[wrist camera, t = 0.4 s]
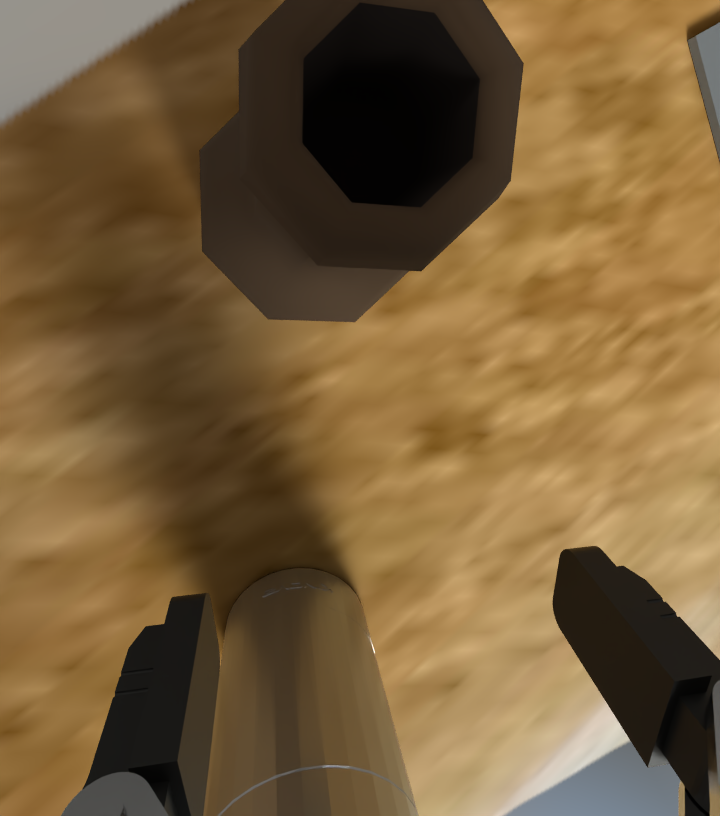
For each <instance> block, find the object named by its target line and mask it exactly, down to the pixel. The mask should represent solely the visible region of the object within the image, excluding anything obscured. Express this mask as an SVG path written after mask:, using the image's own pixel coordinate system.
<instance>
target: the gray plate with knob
mask: <svg viewBox="0 0 720 816" xmlns="http://www.w3.org/2000/svg"><path fill="white" fill-rule="evenodd" d="M688 44H689V48H690V52H691V55H692V59H693V63H694V67H695V70H696V74H697V78H698V81H699V85H700V89H701V93H702V96H703V100H704V104H705V108H706V111H707V115H708V119H709V123H710V126H711V130H712V134H713V138H714V141H715V145H716V149H717V152H718V156H719V160H720V22H719V23H718V24H716V25H714V26H712V27H710V28H709V29H707V30H705V31H703V32H702V33H700V34H698V35H696V36H694V37H693V38H691V39H689V40H688Z"/></svg>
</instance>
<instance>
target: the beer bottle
mask: <svg viewBox="0 0 720 816" xmlns="http://www.w3.org/2000/svg"><path fill="white" fill-rule="evenodd" d="M523 64H524V63H523V62H522V60H521V59H520V57H519V56H518V54H517V53H516V51H515V49H514V48H513V46H512V45H511V43H510V42H509V40H508V39H507V37H506V36H505V34H504V32H503V31H502V29H501V28H500V26H499V25H498V23H497V22H496V20H495V19H494V17H493V16H492V14H491V12H490V11H489V9H488V8H487V6H486V5H485V3H484V2H483V0H285V1H284V2H283V3H282V4H281V5H280V6H279V7H278V8H277V9H276V10H275V11H274V12H273V13H272V14H271V15H270V16H269V17H268V18H267V19H266V20H265V21H264V22H263V23H262V24H261V25H260V26H259V27H258V28H257V29H256V30H255V32H254V33H253V34H252V35H251V36H250V37H249V38H248V39H247V41H246V42H245V43H244V44H243V45H242V46H241V47H240V48H239V112H238V113H237V114H236V115H235V116H234V117H233V118H232V119H231V120H230V121H229V122H228V123H227V124H226V125H225V126H224V127H223V128H222V129H221V130H220V131H219V132H218V133H217V134H216V135H215V136H214V137H213V138H211V139H210V140H209V141H208V142H207V143H206V144H205V145H204V146H203V147H202V148H201V149H200V187H201V224H202V251H203V253H204V254H205V255H206V256H207V257H208V258H209V259H210V260H211V261H212V262H213V263H214V264H215V265H216V266H217V267H218V268H219V269H220V270H221V271H222V272H223V273H224V274H225V275H226V276H227V277H228V278H229V279H230V280H231V281H232V283H233V284H234V285H235V286H236V287H237V288H238V289H239V290H240V291H241V292H242V293H243V294H244V295H245V296H246V297H247V298H248V299H249V300H250V301H251V302H252V303H253V304H254V305H255V306H256V307H257V308H258V309H259V310H260V311H261V312H262V313H263V314H264V315H265V317H266V318H268V319H277V320H308V321H338V322H356V321H357V320H358V319H359V318H360V317H361V316H362V315H363V314H364V313H365V312H366V311H367V310H368V309H369V308H370V307H371V306H373V305H374V304H375V303H376V302H377V301H378V300H379V299H380V298H381V297H382V296H383V295H384V294H385V293H386V292H387V291H388V290H389V289H391V288H392V287H393V286H394V285H395V284H396V283H397V282H398V281H399V280H400V279H401V278H402V277H403V276H404V275H405V274H406V273H407V272H409V271H422V270H423V269H424V268H425V267H426V266H427V265H428V264H429V263H430V262H431V261H432V260H434V259H435V258H436V257H437V256H438V255H439V254H440V253H441V252H442V251H443V250H444V249H445V248H446V247H447V246H448V245H449V244H450V243H452V242H453V241H454V240H455V239H456V238H457V237H458V236H459V235H460V234H461V233H462V232H463V231H464V230H465V229H466V228H467V227H469V226H470V225H471V224H472V223H473V222H474V221H475V220H476V219H477V218H478V217H479V216H480V215H481V214H482V213H483V212H484V211H485V210H487V209H488V208H489V207H490V206H491V205H492V204H493V203H494V202H495V201H496V200H497V199H498V198H499V197H500V195H501V194H502V192H503V191H504V189H505V188H506V186H507V185H508V183H509V182H510V181H511V172H512V163H513V154H514V145H515V136H516V127H517V118H518V109H519V100H520V91H521V82H522V73H523Z"/></svg>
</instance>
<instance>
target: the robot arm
mask: <svg viewBox="0 0 720 816" xmlns="http://www.w3.org/2000/svg"><path fill="white" fill-rule="evenodd" d="M553 611H554V615H555V619H556V621H557V624H558V626H559V628H560V630H561V631H562V633H563V634H564V636H565V638H566V639H567V641H568V642H569V644H570V645H571V647H572V649H573V650H574V652H575V653H576V655H577V657H578V658H579V660H580V661H581V663H582V664H583V666H584V668H585V669H586V671H587V672H588V674H589V676H590V677H591V679H592V680H593V682H594V683H595V685H596V687H597V688H598V690H599V691H600V693H601V695H602V696H603V698H604V699H605V701H606V702H607V704H608V706H609V707H610V709H611V710H612V712H613V714H614V715H615V717H616V718H617V720H618V721H619V723H620V725H621V726H622V728H623V729H624V731H625V733H626V734H627V736H628V737H629V739H630V740H631V742H632V744H633V745H634V747H635V748H636V750H637V751H638V753H639V755H640V756H641V758H642V759H643V761H644V762H645V764H646V766H647V767H648V768H649V767H654V766H660V765H666V764H670V765H671V766H672V768H673V769H674V771H675V772H676V774H677V775H678V777H679V778H680V780H681V781H680V784H679V816H720V660H719V659H718V658H717V657H716V656H715V655H714V654H713V652H712V651H711V650H710V649H709V648H708V647H707V646H706V645H705V644H704V643H703V642H702V640H701V639H700V638H699V637H698V636H697V635H696V634H695V633H694V632H693V631H692V630H691V629H690V627H689V626H688V625H687V624H686V623H685V622H684V621H683V620H682V619H681V618H680V617H677V616H676V612H675V611H674V610H673V609H672V608H671V607H670V606H669V605H668V604H667V603H666V602H663V600H662V597H661V596H660V595H659V594H658V593H657V592H656V591H655V590H654V588H653V587H652V586H651V585H650V584H649V583H648V582H647V581H646V580H645V579H643V578H642V577H640V576H638V575H637V574H635V573H634V572H632V571H631V570H629V569H628V568H626V567H624V566H618V567H616V565H615V564H614V563H613V562H612V561H611V560H610V559H609V557H608V556H607V555H606V554H605V553H604V552H603V551H602V550H601V549H600V548H599V547H597V546H590V547H581V548H573V549H565V550H563V551H562V552H561V554H560V558H559V564H558V570H557V576H556V583H555V589H554V595H553ZM219 672H220V674H219ZM61 816H418V812H417V808H416V805H415V801H414V797H413V793H412V790H411V786H410V782H409V779H408V775H407V771H406V768H405V764H404V760H403V756H402V753H401V749H400V745H399V742H398V738H397V734H396V730H395V727H394V723H393V719H392V716H391V712H390V708H389V705H388V701H387V697H386V693H385V690H384V686H383V682H382V679H381V675H380V671H379V667H378V664H377V660H376V656H375V652H374V648H373V644H372V641H371V637H370V633H369V630H368V626H367V622H366V618H365V615H364V611H363V607H362V605H361V603H360V601H359V599H358V597H357V595H356V594H355V592H354V591H353V590H352V589H351V588H350V586H349V585H347V584H346V583H345V582H343V581H342V580H341V579H340V578H338V577H336V576H334V575H332V574H329V573H327V572H324V571H320V570H316V569H310V568H294V569H287V570H281V571H278V572H275V573H273V574H270V575H267V576H265V577H263V578H262V579H260V580H258V581H256V582H255V583H253V584H252V585H251V586H250V587H249V588H247V589H246V590H245V591H244V592H243V593H242V594H241V595H240V597H239V598H238V599H237V601H236V602H235V603H234V604H233V607H232V609H231V611H230V613H229V615H228V618H227V624H226V629H225V636H224V644H223V652H222V660H221V667H220V655H219V644H218V638H217V633H216V627H215V621H214V616H213V610H212V604H211V599H210V595H209V593H202V594H194V595H185V596H177V597H172V599H171V601H170V604H169V608H168V612H167V616H166V620H165V624H161V625H153V626H146V627H145V628H144V629H143V631H142V632H141V633H140V634H139V636H138V637H137V638H136V640H135V641H134V642H133V643H132V645H131V646H130V647H129V649H128V652H127V655H126V658H125V662H124V665H123V668H122V671H121V677H120V678H119V681H118V684H117V687H116V690H115V697H113V700H112V703H111V706H110V709H109V713H108V716H107V719H106V722H105V725H104V729H103V732H102V735H101V738H100V741H99V744H98V748H97V751H96V754H95V757H94V760H93V764H92V767H91V770H90V773H89V776H88V778H87V781H86V783H85V785H84V787H83V789H82V791H80V792H79V793H78V794H77V795H76V796H75V797H74V798H73V799H72V801H71V802H70V803H69V804H68V806H67V807H66V808H65V810H64V812H63V813H62V815H61Z"/></svg>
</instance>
